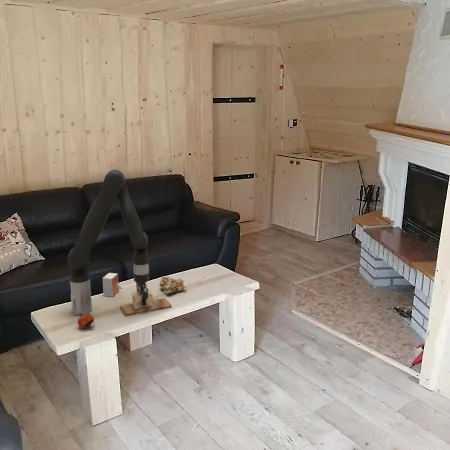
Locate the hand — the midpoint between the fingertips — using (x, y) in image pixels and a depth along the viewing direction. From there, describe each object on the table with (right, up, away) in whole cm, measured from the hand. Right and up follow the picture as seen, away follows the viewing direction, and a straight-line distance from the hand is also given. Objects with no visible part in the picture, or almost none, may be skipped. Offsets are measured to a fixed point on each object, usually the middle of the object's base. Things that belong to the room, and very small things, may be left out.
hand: (142, 302), depth 245 cm
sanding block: (0, -2, 0) cm, 2 cm away
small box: (-20, +2, +18) cm, 27 cm away
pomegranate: (-23, -9, -19) cm, 31 cm away
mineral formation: (+12, +3, +23) cm, 26 cm away
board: (+2, -3, +1) cm, 4 cm away
